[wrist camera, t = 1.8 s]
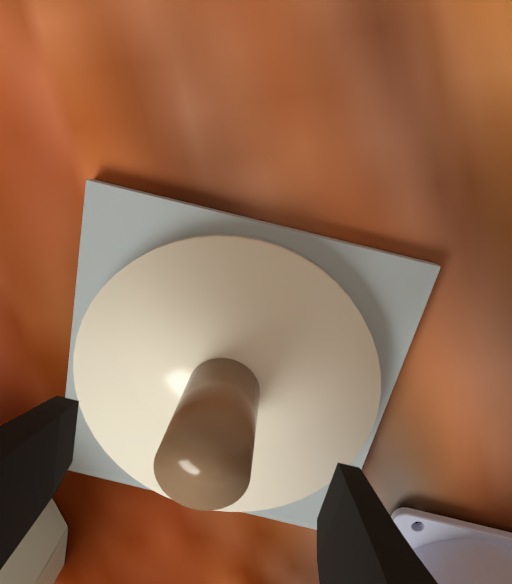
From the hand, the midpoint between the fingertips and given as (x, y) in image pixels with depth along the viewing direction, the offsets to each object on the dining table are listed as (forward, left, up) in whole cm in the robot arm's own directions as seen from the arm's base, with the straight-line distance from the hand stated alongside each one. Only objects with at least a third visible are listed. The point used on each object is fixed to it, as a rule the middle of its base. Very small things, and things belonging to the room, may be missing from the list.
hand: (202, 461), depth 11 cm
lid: (0, 0, -5) cm, 5 cm away
